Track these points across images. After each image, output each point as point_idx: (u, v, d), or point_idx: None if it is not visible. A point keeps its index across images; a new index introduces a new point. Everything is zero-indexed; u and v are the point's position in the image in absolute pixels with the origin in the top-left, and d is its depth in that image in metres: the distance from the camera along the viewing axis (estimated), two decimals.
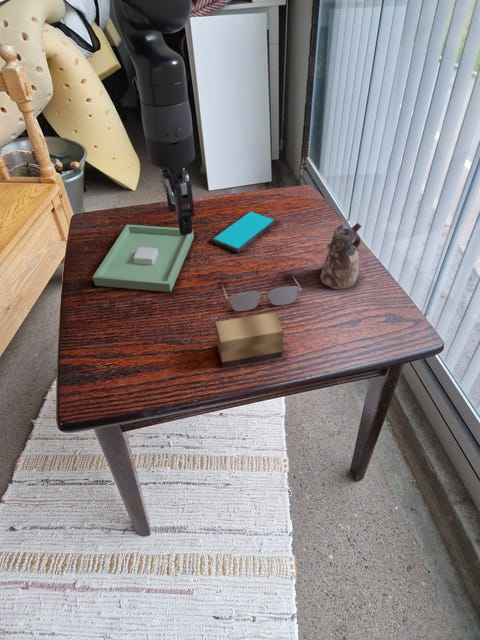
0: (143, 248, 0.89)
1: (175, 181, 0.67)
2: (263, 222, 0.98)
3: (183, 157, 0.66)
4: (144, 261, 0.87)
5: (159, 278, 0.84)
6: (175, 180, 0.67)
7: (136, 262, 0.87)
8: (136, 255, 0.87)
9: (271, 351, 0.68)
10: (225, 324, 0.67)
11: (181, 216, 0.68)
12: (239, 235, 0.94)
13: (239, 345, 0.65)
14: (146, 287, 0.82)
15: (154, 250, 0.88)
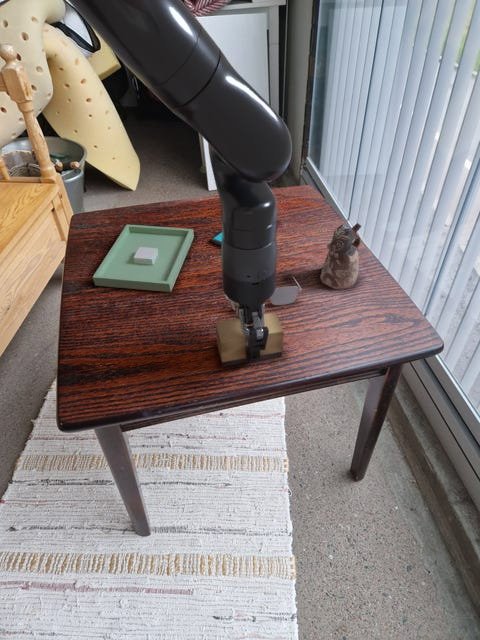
0: (143, 248, 0.89)
1: (250, 319, 0.59)
2: None
3: (263, 295, 0.57)
4: (144, 261, 0.87)
5: (159, 278, 0.84)
6: (251, 319, 0.59)
7: (136, 262, 0.87)
8: (136, 255, 0.87)
9: (271, 351, 0.68)
10: (225, 324, 0.67)
11: (250, 351, 0.62)
12: None
13: (239, 345, 0.65)
14: (146, 287, 0.82)
15: (154, 250, 0.88)
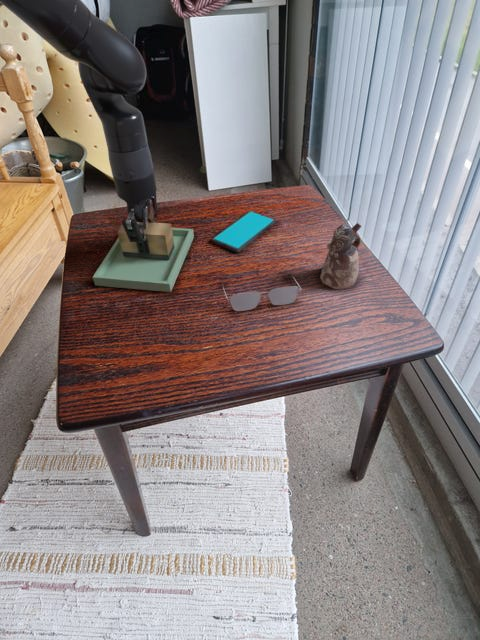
0: None
1: (128, 213, 0.79)
2: (263, 222, 0.98)
3: (135, 194, 0.77)
4: None
5: (159, 278, 0.84)
6: (128, 213, 0.79)
7: None
8: None
9: (159, 252, 0.87)
10: None
11: (130, 241, 0.82)
12: (239, 235, 0.94)
13: None
14: (146, 287, 0.82)
15: None
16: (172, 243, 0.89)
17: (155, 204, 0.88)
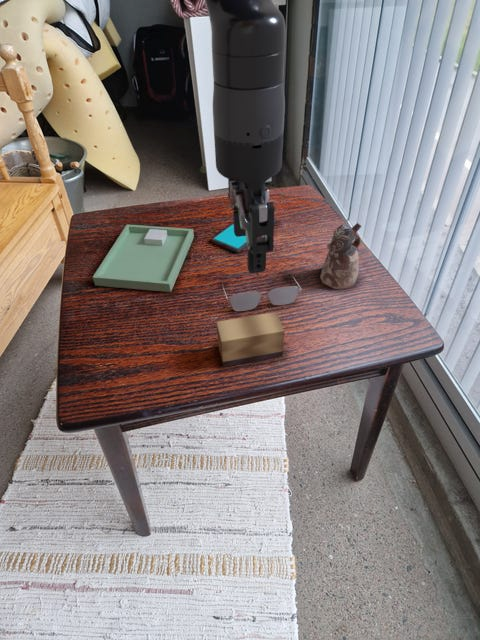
0: (153, 230, 0.94)
1: (251, 200, 0.47)
2: None
3: (266, 167, 0.45)
4: (154, 242, 0.92)
5: (159, 278, 0.84)
6: (251, 199, 0.46)
7: (146, 243, 0.92)
8: (147, 236, 0.92)
9: (272, 351, 0.68)
10: (226, 324, 0.67)
11: (254, 251, 0.48)
12: None
13: (240, 345, 0.65)
14: (146, 287, 0.82)
15: (164, 232, 0.93)
16: None
17: None
